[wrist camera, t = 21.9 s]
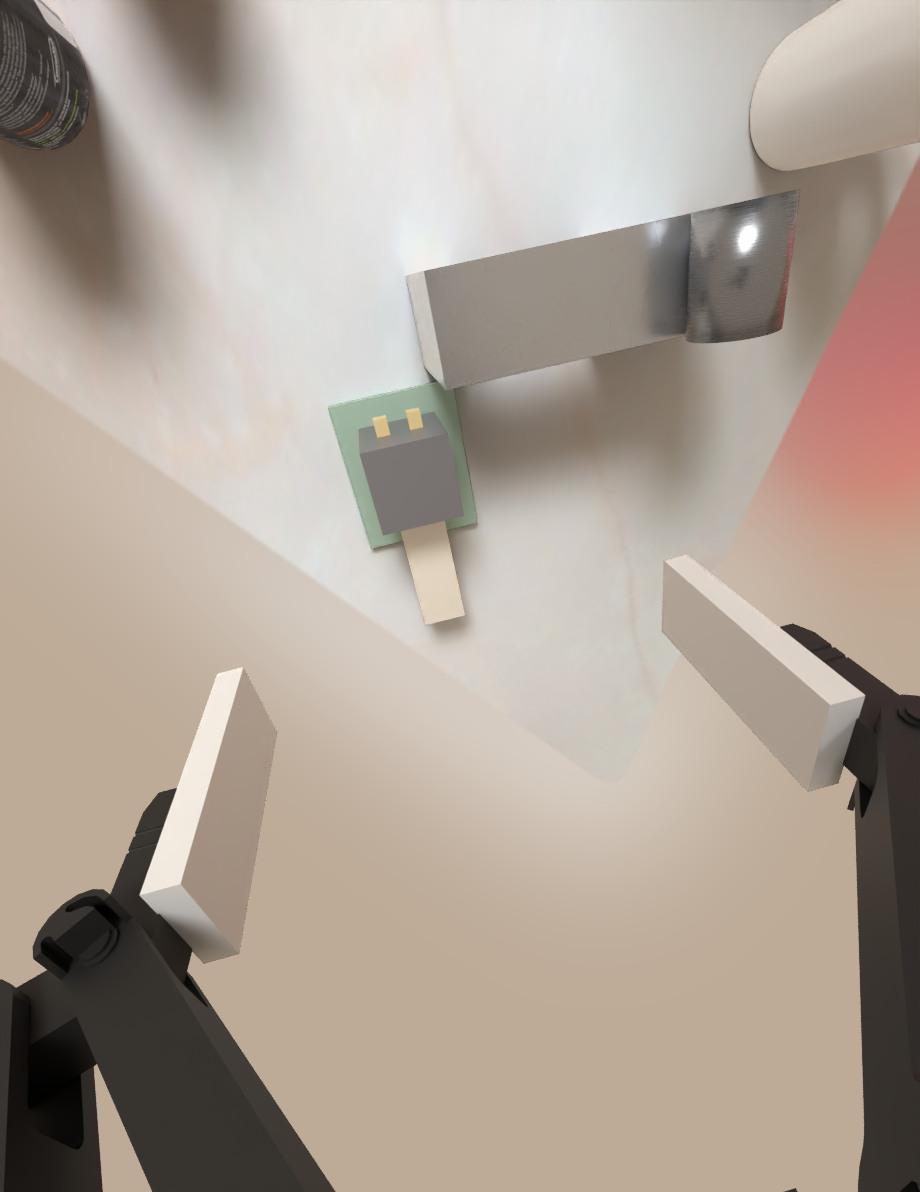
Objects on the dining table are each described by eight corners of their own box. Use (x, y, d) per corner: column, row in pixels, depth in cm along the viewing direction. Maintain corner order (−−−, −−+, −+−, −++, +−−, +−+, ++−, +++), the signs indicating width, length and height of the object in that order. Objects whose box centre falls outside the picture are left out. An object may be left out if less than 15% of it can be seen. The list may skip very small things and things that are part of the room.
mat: (328, 406, 33) (328, 408, 33) (450, 378, 34) (451, 379, 33) (370, 545, 38) (370, 548, 38) (475, 519, 39) (477, 522, 38)
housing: (406, 275, 30) (436, 267, 19) (673, 218, 31) (848, 178, 20) (424, 367, 33) (460, 405, 22) (671, 311, 34) (824, 321, 23)
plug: (354, 413, 33) (354, 435, 28) (430, 395, 33) (444, 414, 28) (408, 607, 41) (416, 652, 36) (470, 592, 41) (486, 634, 36)
